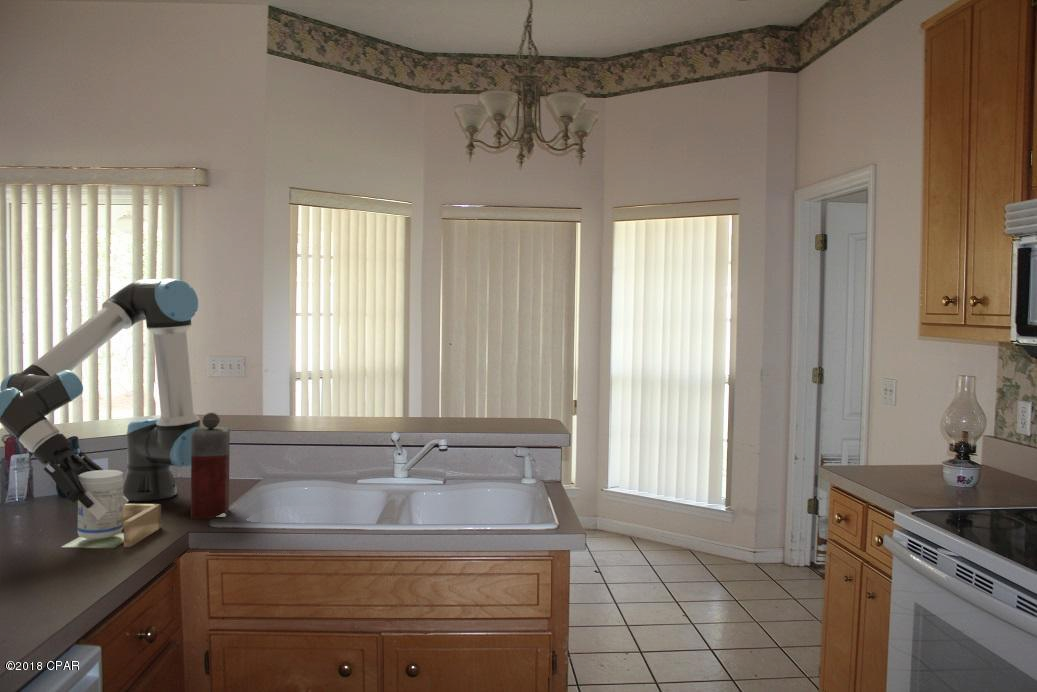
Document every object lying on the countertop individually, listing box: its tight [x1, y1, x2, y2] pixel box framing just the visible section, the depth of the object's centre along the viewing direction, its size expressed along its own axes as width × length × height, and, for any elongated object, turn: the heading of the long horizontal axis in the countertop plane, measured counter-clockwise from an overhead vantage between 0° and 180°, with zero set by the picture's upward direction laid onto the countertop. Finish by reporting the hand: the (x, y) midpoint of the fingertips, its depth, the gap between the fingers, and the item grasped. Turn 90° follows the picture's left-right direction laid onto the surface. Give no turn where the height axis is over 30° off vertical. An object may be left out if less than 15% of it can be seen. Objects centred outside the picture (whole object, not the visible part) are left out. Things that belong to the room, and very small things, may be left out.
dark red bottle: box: [190, 411, 231, 520], centre depth 208 cm, size 9×11×28 cm
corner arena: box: [60, 503, 162, 549], centre depth 184 cm, size 15×18×6 cm
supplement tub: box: [77, 469, 124, 539], centre depth 181 cm, size 10×10×15 cm
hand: (114, 509), depth 181 cm, fingers closed on supplement tub, 9 cm apart
